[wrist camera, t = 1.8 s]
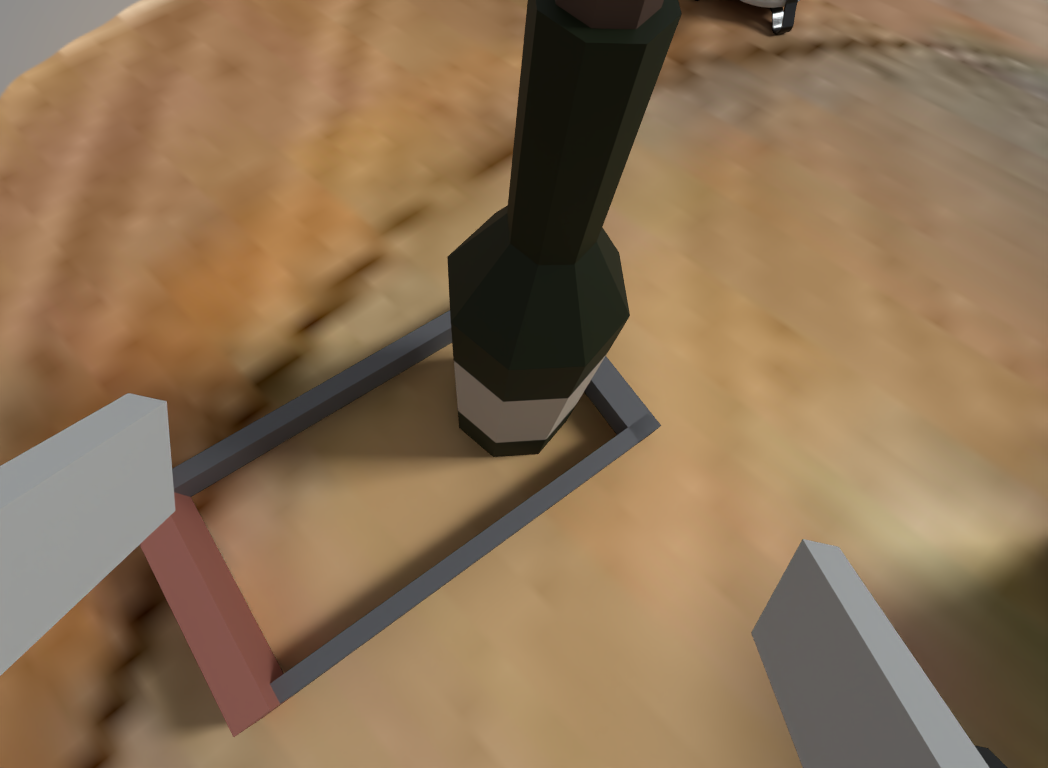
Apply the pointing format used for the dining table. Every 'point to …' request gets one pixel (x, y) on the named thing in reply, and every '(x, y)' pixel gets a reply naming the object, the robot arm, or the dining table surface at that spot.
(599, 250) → the wine bottle
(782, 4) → the coffee press
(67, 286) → the dining table surface
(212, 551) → the frame
